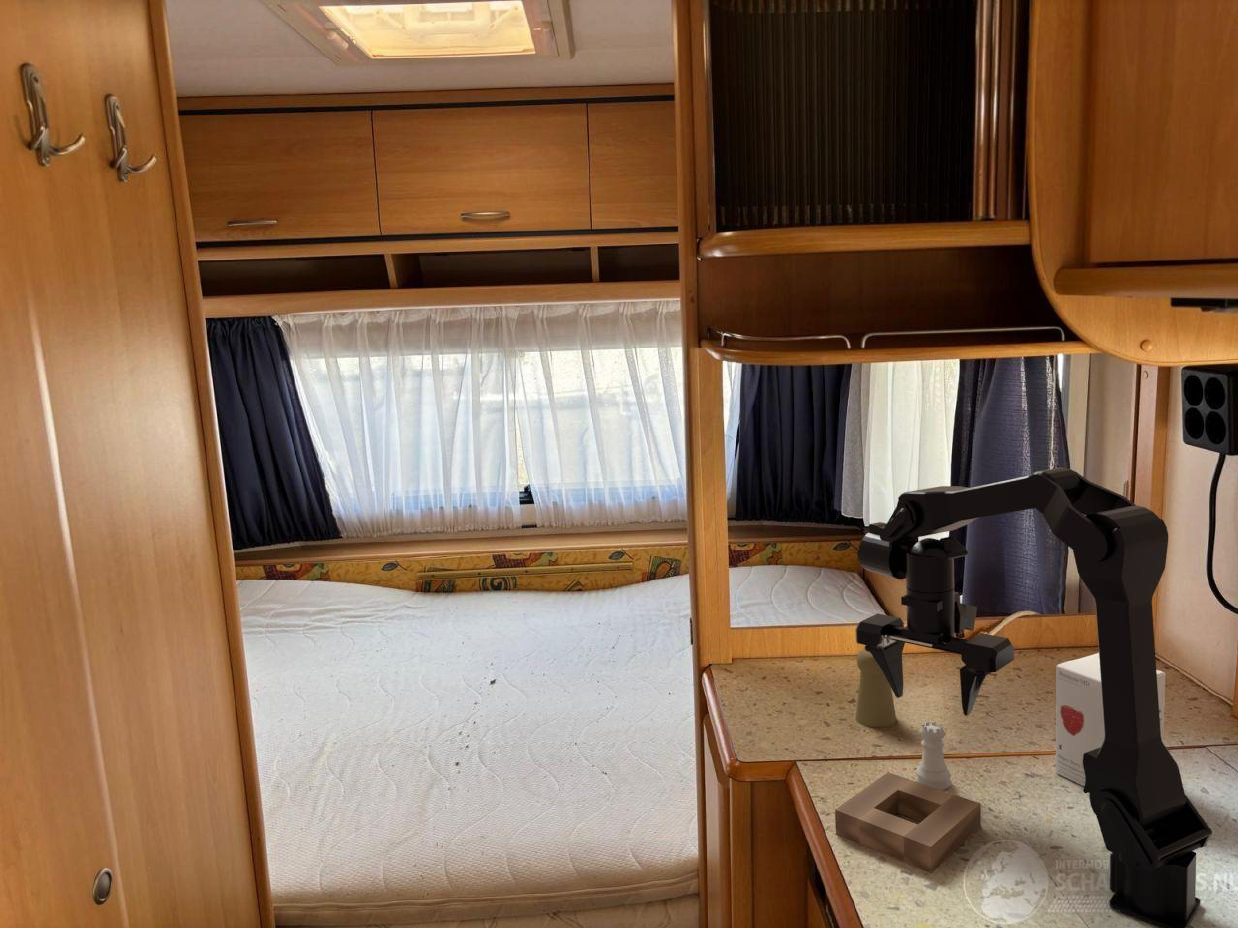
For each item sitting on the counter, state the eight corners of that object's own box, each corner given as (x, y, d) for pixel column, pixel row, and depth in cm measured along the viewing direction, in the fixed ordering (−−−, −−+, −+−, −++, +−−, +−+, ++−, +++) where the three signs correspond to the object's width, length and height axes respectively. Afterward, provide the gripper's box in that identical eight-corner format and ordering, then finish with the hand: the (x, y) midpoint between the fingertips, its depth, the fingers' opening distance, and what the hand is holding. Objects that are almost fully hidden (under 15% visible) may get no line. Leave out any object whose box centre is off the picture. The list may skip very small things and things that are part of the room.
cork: (865, 729, 131) (863, 658, 130) (848, 713, 137) (846, 645, 136) (903, 724, 132) (902, 653, 131) (885, 708, 138) (883, 641, 137)
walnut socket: (980, 827, 104) (980, 803, 103) (931, 872, 95) (930, 846, 95) (888, 794, 112) (887, 771, 112) (835, 833, 104) (834, 809, 104)
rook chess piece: (922, 772, 117) (921, 715, 116) (956, 781, 114) (955, 722, 113) (909, 786, 114) (908, 727, 113) (944, 796, 111) (943, 735, 110)
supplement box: (1052, 773, 115) (1052, 663, 113) (1100, 756, 119) (1101, 649, 117) (1116, 804, 107) (1118, 685, 105) (1165, 785, 110) (1167, 670, 108)
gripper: (1032, 583, 109) (1032, 703, 111) (895, 564, 123) (897, 671, 125) (993, 605, 102) (994, 733, 104) (851, 581, 115) (855, 695, 117)
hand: (932, 705), depth 113 cm, fingers open, 9 cm apart
